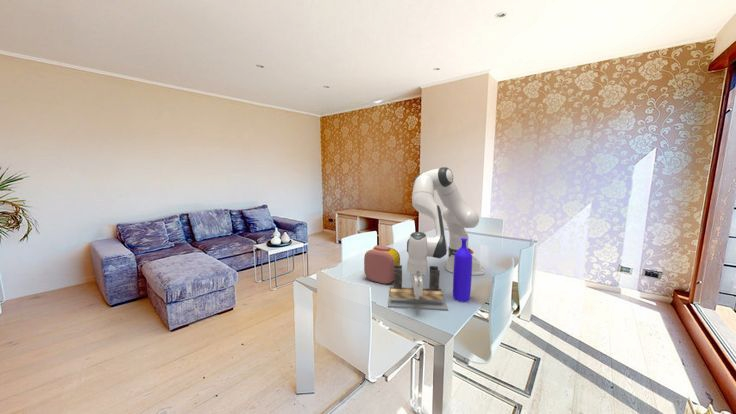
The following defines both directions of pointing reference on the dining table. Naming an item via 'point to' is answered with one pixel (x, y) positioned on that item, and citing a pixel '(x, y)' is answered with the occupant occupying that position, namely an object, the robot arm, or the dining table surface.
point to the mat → (417, 304)
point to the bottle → (462, 273)
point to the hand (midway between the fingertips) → (416, 296)
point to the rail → (410, 295)
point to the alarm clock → (381, 264)
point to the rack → (398, 285)
